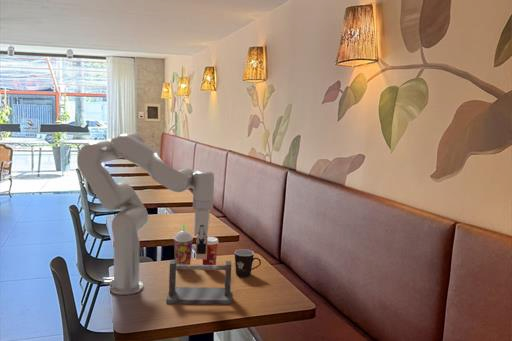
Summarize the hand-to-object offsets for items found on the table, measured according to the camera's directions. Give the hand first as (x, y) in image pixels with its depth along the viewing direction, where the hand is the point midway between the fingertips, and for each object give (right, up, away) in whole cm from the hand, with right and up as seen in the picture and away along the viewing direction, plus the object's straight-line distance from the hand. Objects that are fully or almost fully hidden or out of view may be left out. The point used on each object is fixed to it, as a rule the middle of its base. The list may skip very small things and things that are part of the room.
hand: (201, 250), depth 162 cm
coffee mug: (+16, -16, +26) cm, 35 cm away
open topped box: (0, -3, 0) cm, 2 cm away
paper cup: (-1, -14, +32) cm, 35 cm away
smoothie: (-13, -14, +32) cm, 37 cm away
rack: (-1, -19, +3) cm, 19 cm away
